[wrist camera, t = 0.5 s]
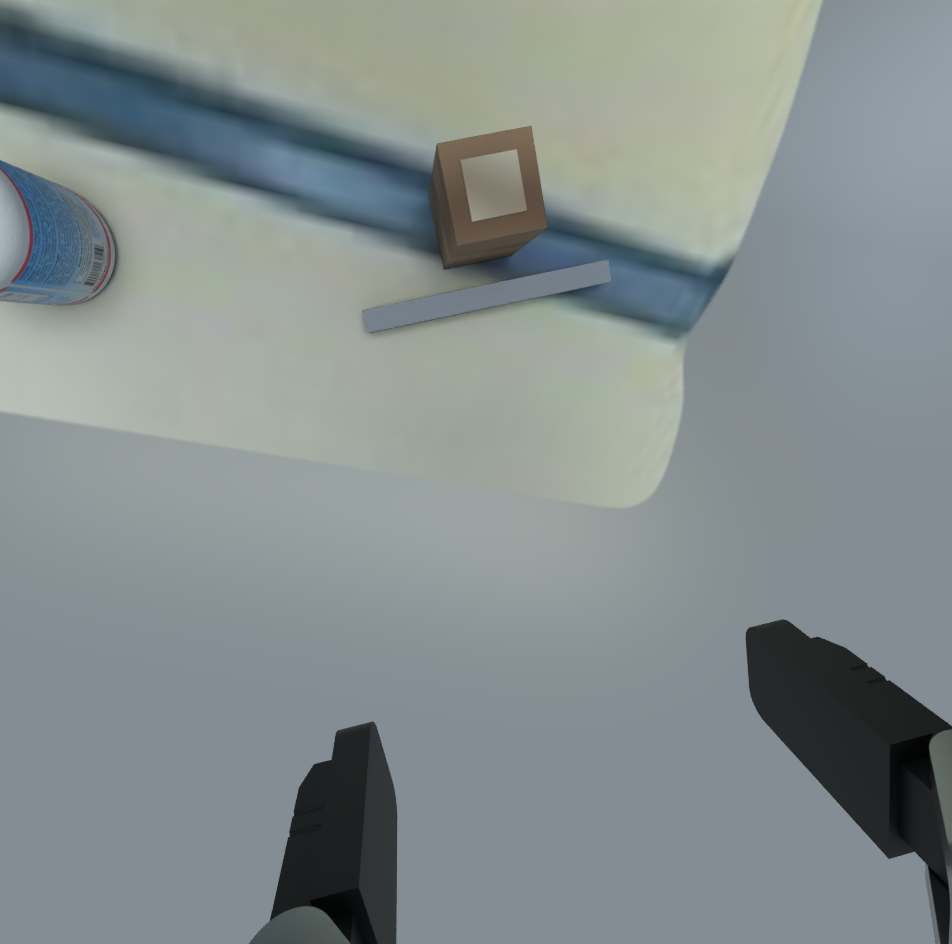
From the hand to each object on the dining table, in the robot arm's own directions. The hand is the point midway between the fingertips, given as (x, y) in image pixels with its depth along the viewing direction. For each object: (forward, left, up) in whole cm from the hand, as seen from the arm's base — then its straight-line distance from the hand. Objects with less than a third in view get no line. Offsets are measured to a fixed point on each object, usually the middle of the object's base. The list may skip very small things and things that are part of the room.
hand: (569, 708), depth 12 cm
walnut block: (-13, +4, -25) cm, 28 cm away
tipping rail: (-9, +4, -25) cm, 27 cm away
